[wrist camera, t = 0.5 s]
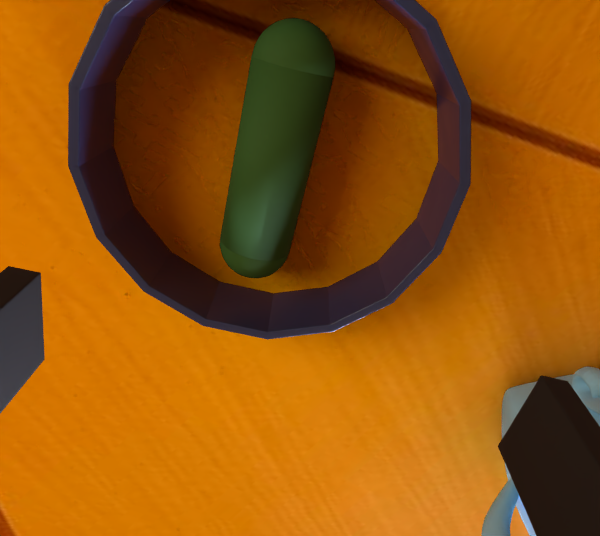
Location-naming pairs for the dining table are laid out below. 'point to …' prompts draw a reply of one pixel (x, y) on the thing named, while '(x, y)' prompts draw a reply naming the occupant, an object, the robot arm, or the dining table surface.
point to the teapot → (586, 383)
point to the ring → (231, 298)
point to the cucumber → (275, 144)
